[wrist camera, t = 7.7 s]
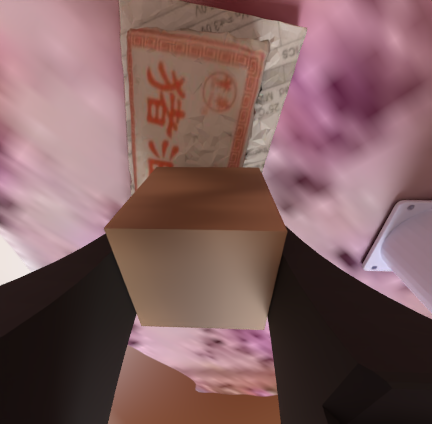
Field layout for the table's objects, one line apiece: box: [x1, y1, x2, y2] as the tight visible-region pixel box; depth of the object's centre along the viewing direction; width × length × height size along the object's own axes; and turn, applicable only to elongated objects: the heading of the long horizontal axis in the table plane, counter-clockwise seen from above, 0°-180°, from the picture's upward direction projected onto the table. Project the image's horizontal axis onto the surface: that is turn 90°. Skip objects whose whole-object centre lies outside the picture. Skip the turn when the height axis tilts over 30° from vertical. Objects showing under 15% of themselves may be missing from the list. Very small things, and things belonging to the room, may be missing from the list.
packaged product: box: [119, 0, 307, 196], centre depth 14 cm, size 18×5×10 cm
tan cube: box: [104, 167, 287, 330], centre depth 9 cm, size 5×5×5 cm
